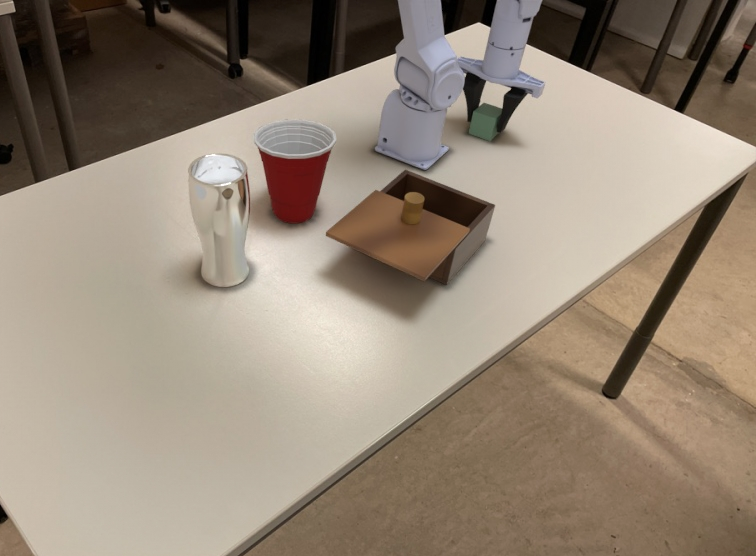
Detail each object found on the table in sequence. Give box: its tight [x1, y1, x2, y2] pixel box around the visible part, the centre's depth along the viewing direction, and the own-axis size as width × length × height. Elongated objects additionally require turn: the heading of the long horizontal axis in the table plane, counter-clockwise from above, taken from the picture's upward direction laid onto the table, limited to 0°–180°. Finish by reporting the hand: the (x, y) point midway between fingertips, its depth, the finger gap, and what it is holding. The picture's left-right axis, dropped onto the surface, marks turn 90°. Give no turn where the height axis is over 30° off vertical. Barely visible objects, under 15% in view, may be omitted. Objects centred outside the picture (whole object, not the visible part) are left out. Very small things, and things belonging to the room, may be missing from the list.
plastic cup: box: [253, 119, 337, 224], centre depth 89 cm, size 11×11×12 cm
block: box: [468, 102, 502, 142], centre depth 110 cm, size 4×4×4 cm
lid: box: [325, 189, 470, 282], centre depth 79 cm, size 14×12×4 cm
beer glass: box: [187, 152, 251, 288], centre depth 79 cm, size 7×7×15 cm
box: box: [379, 169, 496, 286], centre depth 88 cm, size 14×12×6 cm
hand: (486, 124), depth 110 cm, fingers open, 5 cm apart
